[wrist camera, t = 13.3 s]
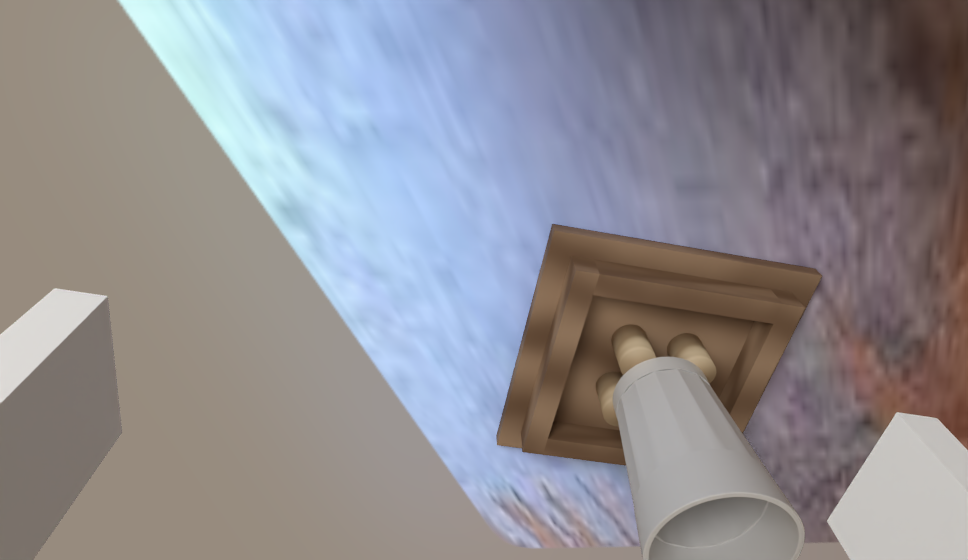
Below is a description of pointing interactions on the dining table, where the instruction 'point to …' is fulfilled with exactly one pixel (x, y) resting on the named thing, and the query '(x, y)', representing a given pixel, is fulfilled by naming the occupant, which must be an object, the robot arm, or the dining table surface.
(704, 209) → the dining table surface
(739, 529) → the cup
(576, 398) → the peg stand
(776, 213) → the dining table surface
